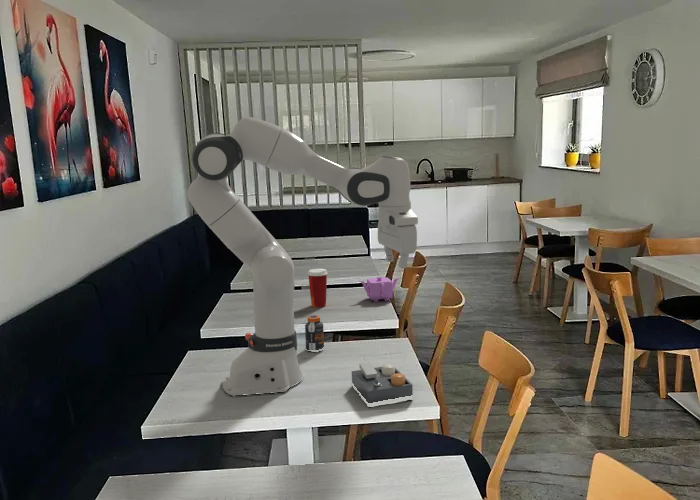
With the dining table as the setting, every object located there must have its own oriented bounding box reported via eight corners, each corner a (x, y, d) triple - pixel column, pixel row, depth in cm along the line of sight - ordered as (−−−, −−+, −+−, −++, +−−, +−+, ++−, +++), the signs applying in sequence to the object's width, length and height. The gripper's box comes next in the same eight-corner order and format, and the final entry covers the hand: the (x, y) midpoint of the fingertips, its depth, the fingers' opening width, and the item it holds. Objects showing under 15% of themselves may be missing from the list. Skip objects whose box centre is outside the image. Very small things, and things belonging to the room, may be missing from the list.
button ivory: (384, 383, 155) (384, 369, 155) (380, 378, 159) (379, 365, 158) (397, 381, 156) (396, 367, 156) (392, 376, 160) (392, 363, 159)
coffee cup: (332, 304, 241) (331, 269, 238) (321, 309, 234) (319, 273, 231) (316, 302, 245) (314, 267, 242) (304, 306, 238) (303, 271, 235)
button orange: (394, 394, 149) (394, 379, 148) (389, 388, 152) (389, 374, 151) (407, 392, 150) (407, 377, 149) (402, 386, 153) (401, 372, 152)
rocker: (366, 378, 152) (366, 375, 152) (359, 367, 158) (359, 363, 157) (377, 377, 153) (377, 373, 153) (369, 365, 158) (369, 361, 158)
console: (368, 408, 146) (368, 380, 144) (352, 386, 159) (351, 360, 158) (412, 400, 149) (412, 373, 148) (392, 380, 162) (392, 355, 161)
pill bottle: (317, 354, 184) (315, 320, 182) (302, 351, 187) (300, 317, 185) (327, 348, 189) (326, 315, 187) (313, 345, 192) (311, 312, 190)
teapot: (395, 293, 255) (395, 271, 253) (404, 301, 242) (403, 278, 241) (355, 296, 252) (354, 274, 250) (362, 304, 239) (361, 281, 237)
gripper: (371, 212, 168) (373, 258, 171) (398, 220, 149) (399, 272, 151) (391, 210, 170) (393, 256, 172) (420, 218, 151) (421, 270, 153)
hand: (396, 264), depth 162 cm, fingers open, 8 cm apart
